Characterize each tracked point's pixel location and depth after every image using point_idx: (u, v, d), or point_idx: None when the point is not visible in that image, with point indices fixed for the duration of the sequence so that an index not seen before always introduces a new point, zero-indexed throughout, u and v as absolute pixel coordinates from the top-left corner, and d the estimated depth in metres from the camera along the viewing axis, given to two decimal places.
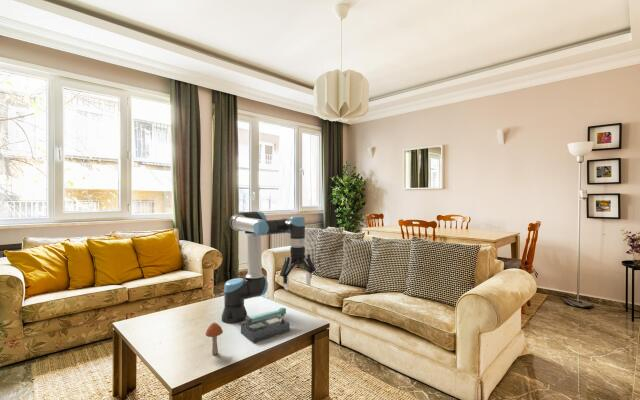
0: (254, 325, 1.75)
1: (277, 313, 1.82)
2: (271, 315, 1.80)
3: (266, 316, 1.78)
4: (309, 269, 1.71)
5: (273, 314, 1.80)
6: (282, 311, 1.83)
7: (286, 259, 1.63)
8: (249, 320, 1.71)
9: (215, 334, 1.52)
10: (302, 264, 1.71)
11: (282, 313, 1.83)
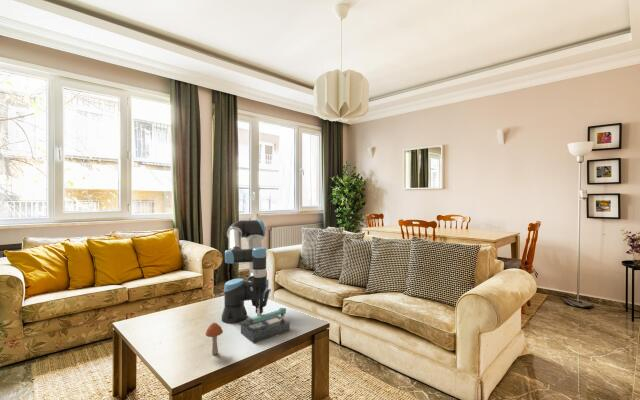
0: (254, 325, 1.75)
1: (277, 313, 1.82)
2: (272, 315, 1.79)
3: (267, 316, 1.77)
4: (260, 303, 1.77)
5: (273, 314, 1.80)
6: (282, 311, 1.83)
7: None
8: (250, 321, 1.70)
9: (215, 334, 1.52)
10: None
11: (282, 313, 1.83)
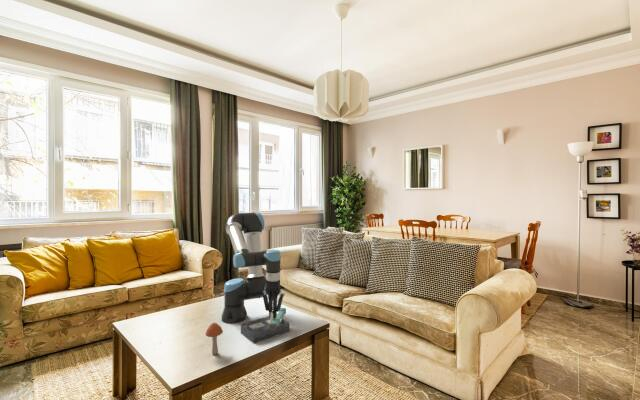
0: (254, 325, 1.75)
1: (282, 313, 1.81)
2: (281, 316, 1.77)
3: (280, 318, 1.74)
4: (273, 308, 1.71)
5: (281, 315, 1.79)
6: (284, 311, 1.84)
7: None
8: (275, 325, 1.64)
9: (215, 334, 1.52)
10: None
11: (284, 313, 1.84)
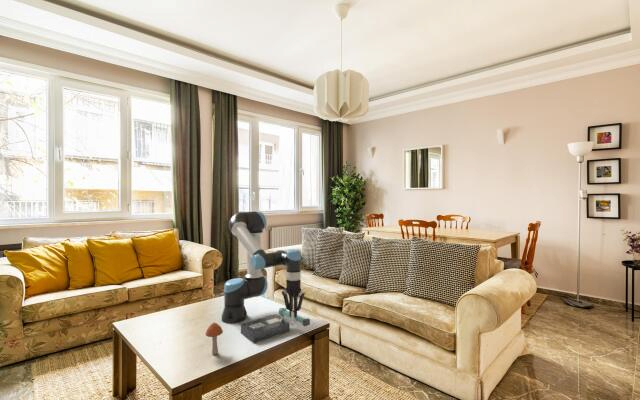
0: (254, 325, 1.75)
1: None
2: None
3: None
4: (294, 307, 1.72)
5: None
6: (285, 309, 1.86)
7: None
8: None
9: (215, 334, 1.52)
10: None
11: None
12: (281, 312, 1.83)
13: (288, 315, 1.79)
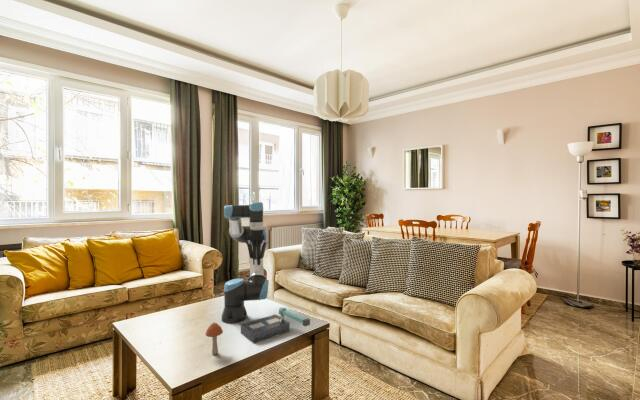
0: (254, 325, 1.75)
1: None
2: None
3: None
4: (257, 255, 1.84)
5: None
6: (285, 309, 1.86)
7: None
8: None
9: (215, 334, 1.52)
10: None
11: None
12: (281, 312, 1.83)
13: (288, 315, 1.79)
